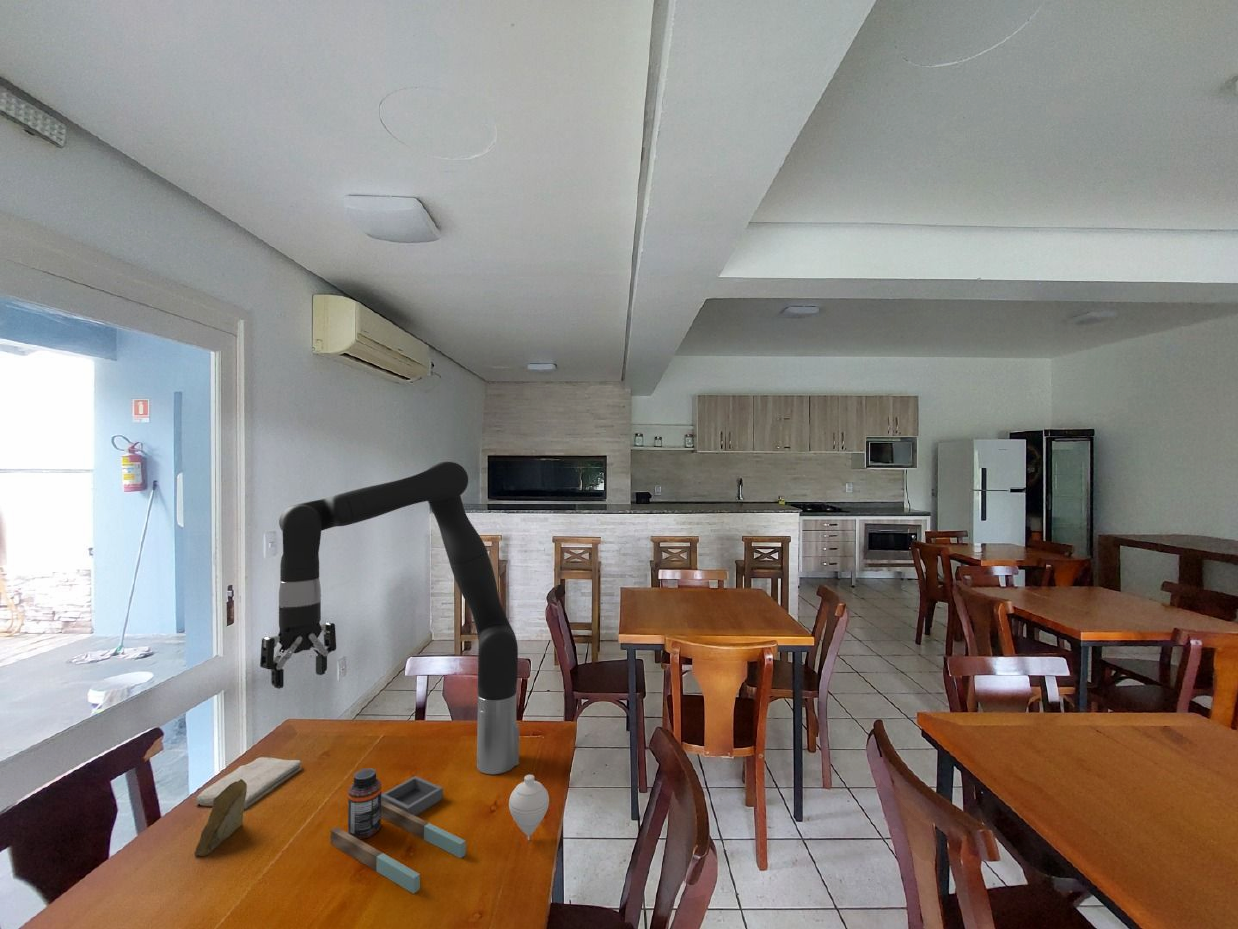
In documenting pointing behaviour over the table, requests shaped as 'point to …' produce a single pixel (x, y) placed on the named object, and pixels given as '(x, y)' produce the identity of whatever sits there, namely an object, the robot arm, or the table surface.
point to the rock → (223, 817)
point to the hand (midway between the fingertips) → (300, 680)
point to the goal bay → (407, 875)
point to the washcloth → (253, 779)
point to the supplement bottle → (364, 804)
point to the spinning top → (528, 804)
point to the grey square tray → (414, 795)
